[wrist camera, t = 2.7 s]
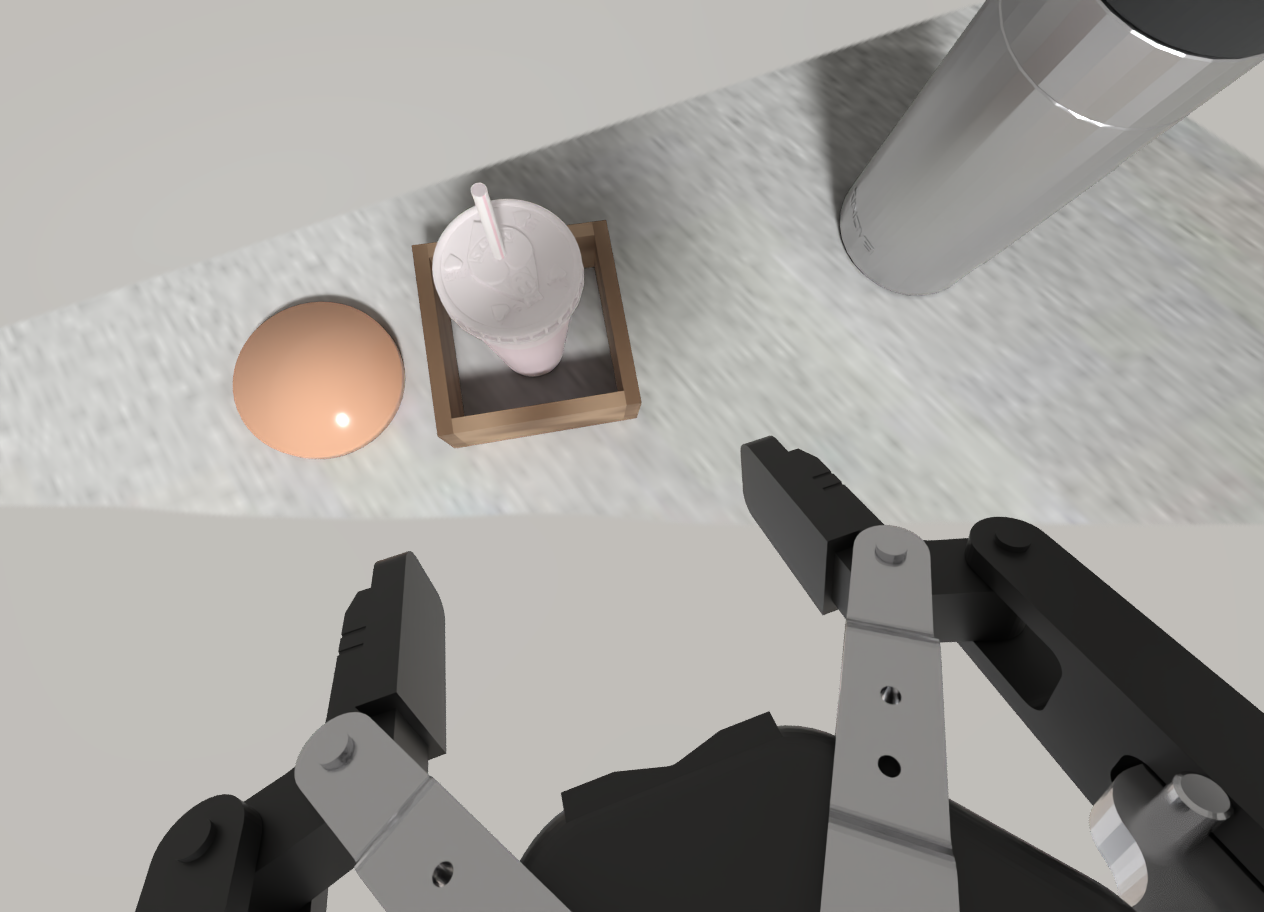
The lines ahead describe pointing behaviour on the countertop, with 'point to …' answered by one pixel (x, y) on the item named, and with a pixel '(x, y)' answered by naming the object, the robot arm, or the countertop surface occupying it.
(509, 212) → the smoothie
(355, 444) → the peach glossy dome
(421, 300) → the crate
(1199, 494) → the countertop surface
